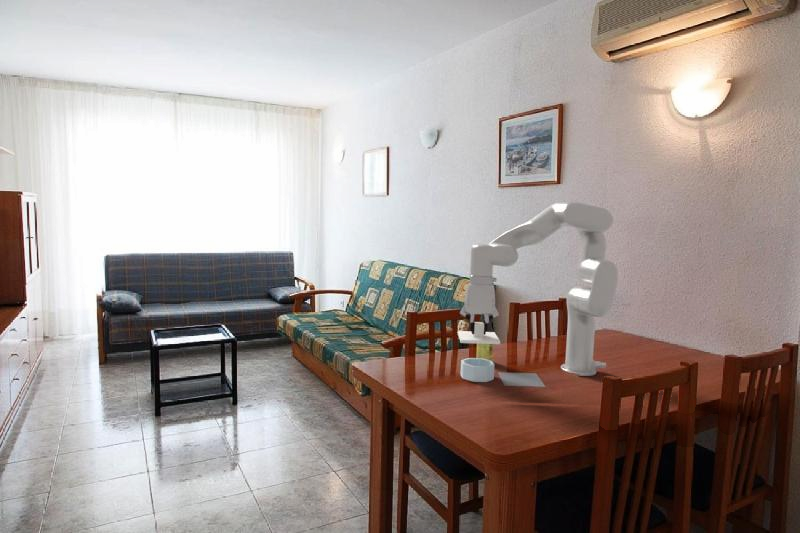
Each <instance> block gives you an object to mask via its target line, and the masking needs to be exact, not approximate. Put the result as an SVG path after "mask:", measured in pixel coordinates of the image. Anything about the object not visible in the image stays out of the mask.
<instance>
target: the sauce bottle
mask: <svg viewBox="0 0 800 533" xmlns="http://www.w3.org/2000/svg"><path fill="white" fill-rule="evenodd" d="M489 315H491V314H489ZM480 317H481V318H480V320H481V321H480V322H483V321H484V314H480ZM487 332H494V330H493V326H492V320H491V321H489V323H488V330H487ZM494 345H495V344H477V343H476V355H475V356H476V357H475V358H482V359H486V360H490V361H492V362H493V361H494Z"/></svg>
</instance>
